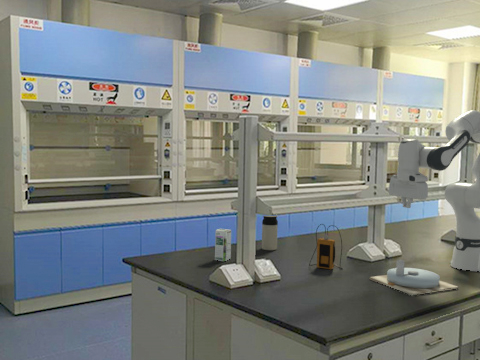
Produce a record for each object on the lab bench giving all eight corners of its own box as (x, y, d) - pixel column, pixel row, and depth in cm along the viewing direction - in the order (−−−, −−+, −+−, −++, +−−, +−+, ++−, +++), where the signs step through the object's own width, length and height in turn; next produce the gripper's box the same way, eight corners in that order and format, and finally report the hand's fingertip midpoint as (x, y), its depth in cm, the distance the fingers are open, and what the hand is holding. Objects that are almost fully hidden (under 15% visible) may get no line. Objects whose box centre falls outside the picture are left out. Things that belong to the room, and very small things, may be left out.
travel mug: (273, 251, 258) (274, 216, 257) (259, 249, 262) (260, 215, 260) (279, 248, 265) (280, 214, 264) (265, 246, 269) (266, 213, 267)
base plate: (413, 273, 220) (413, 270, 220) (458, 289, 199) (458, 285, 199) (369, 279, 210) (369, 275, 210) (411, 296, 189) (412, 292, 188)
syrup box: (214, 260, 237) (214, 229, 236) (220, 257, 242) (221, 228, 241) (225, 262, 234) (225, 231, 233) (231, 259, 240) (231, 229, 238)
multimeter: (347, 266, 231) (348, 223, 229) (339, 271, 222) (341, 226, 220) (316, 262, 238) (318, 220, 236) (308, 266, 230) (310, 222, 228)
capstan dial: (412, 272, 218) (413, 252, 217) (450, 284, 200) (451, 262, 199) (376, 276, 209) (377, 256, 208) (412, 290, 191) (413, 267, 190)
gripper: (385, 174, 229) (384, 204, 230) (419, 178, 210) (418, 211, 211) (396, 174, 231) (395, 204, 233) (430, 177, 213) (429, 210, 214)
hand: (406, 207), depth 222 cm, fingers closed
